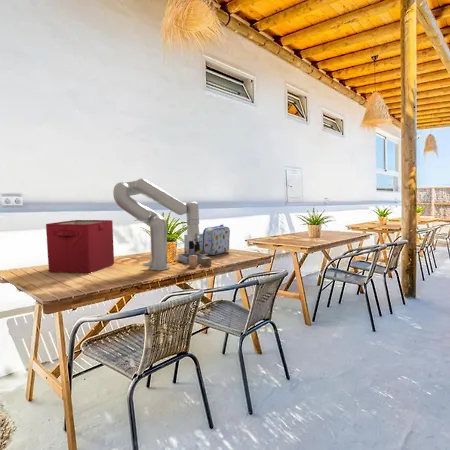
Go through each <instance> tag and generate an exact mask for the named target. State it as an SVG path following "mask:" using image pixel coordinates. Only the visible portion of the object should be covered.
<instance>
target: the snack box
mask: <svg viewBox="0 0 450 450" xmlns="http://www.w3.org/2000/svg"><path fill="white" fill-rule="evenodd" d="M199 236H200V251H195V249H189V240H188V239H187V234H184V239H183V240H184V241H183V242H184V243H183V244H184V247H183V248H184V249H183V254H185V253H199V254H202V253H203V232H199ZM193 242H194V241H193ZM194 244H195V243H194ZM203 254H204V253H203Z"/></svg>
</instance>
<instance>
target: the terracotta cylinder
mask: <svg viewBox="0 0 450 450" xmlns="http://www.w3.org/2000/svg"><path fill="white" fill-rule="evenodd" d="M188 267H189V268H198V263H197V255H189V264H188Z"/></svg>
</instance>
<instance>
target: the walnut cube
mask: <svg viewBox="0 0 450 450" xmlns="http://www.w3.org/2000/svg"><path fill="white" fill-rule="evenodd" d="M200 266H201V267H203V268H205V267H206V266H207V267H212V258H211V257H209V256H206V257H203V258H201V263H200Z"/></svg>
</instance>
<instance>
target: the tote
mask: <svg viewBox="0 0 450 450" xmlns="http://www.w3.org/2000/svg"><path fill="white" fill-rule="evenodd" d="M177 254H178V256H177V257H178V261H179V262H181V263H184V264H185V265H189V255H197V264H201V258H203V257H207V256H206V255H205V254H202V253H185V254H184V253H177Z"/></svg>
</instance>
